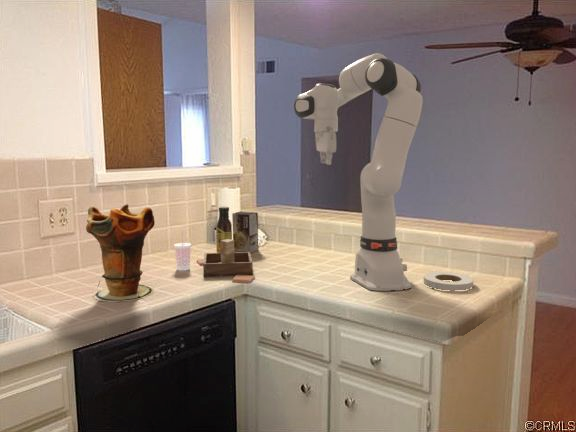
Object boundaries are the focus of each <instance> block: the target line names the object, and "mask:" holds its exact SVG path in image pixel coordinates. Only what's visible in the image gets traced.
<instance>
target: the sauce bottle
mask: <svg viewBox="0 0 576 432" xmlns="http://www.w3.org/2000/svg"><path fill="white" fill-rule="evenodd" d="M229 212H230V207H229V206H219V207H218V213H219V216H218V219H217V223H216V226H215V234H216V236H215V237H216V238H215V239H216V241H215V243H216V245H215V247H216V253H221V241H222V240H226V239H231V240H233V223H232V222H231V219H229V218H230V216H229Z"/></svg>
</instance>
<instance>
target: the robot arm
mask: <svg viewBox="0 0 576 432" xmlns="http://www.w3.org/2000/svg"><path fill="white" fill-rule="evenodd" d="M338 85H339V88H337V87H336V86H335V85H334V84H331V83H321V82H319V83H316V84H315V86H314V87H313V88H312V89H310V90H308V91H307V92H304V93H300V94H299V95H298V96H297V97H296V98H295V100H294V102H293V111H294V113H295V115H296V116H297V117H298V118H300V119H305V120H314V127H313V133H315V135H314V136H315V149H316V152H319V156H320V163H321V164H326V165H327V166H331V165H332V160H333V153H336V152H337V134H336V133H337V132H339V118H338V110H339V109H340V108H342V107H343V106H345V105H346V104H348V103H350V102H352V101H353V100H354V99H356V98H358V97H359V96H360V95H363V94H364V93H367V92H368V91H370V90H372V91H374V92H375V93H377V95H380V96H381V97H384V98H386V99H387V107H386V110H385V112H384V114H383V115H384V116H383V119H382V121H381V123H380V127H379V130H378V133H377V136H376V138H375V143H374V148H373V152H372V157H371V160H370V162H369V163H367V164H366V165H365V166H364V167H363V168H362V170H361V172H360V177H359V178H360V198H361V199H360V200H361V213H362V214H361V215H362V216H361V236H360V240H359V246H360V249H359V250H358V252H357V253H356V254H355V261H354V262H355V263H354V264H355V265H354V273H353V274H350V275H349V279H350V280H352V281H353V280H354V282H355V283H357V284H359V285H360V286H362V287H364V288H366V289H367V290H369V291H379V292H382V291H383V292H387V291H388V292H389V291H390V292H391V290H395V291H404V290H403V289H405V290H409V288H410V289H411V288H412V284H411V283H410V281H409V280H408V278H407V276H406V275H405V272H407V271H408V265H407V264H406V263H403V258H402V257H400V254H399V251H398V250H397V249H398V240H397V237H396V227H397V226H396V225H397V224H396V221H397V213H396V206H395V197H394V196H395V194H397V192H398V191H399V190H400V189H401V186H402V180H403V176H404V172H405V167H406V162H407V158H408V153H409V149H410V148H411V145H412V141H413V138H414V135H415V133H416V131H417V127H418V123H419V121H420V117H421V113H422V108H423V103H424V101H423V100H424V98H423V96H422V94H421V90H422V84H421V82H420V80H419V78H418V77H417V76H416V75H415V74H413V73H412V72H411V71H409V70H408V69H407V68H405V67H404V66H403V65H401V64H398V63H396V62H393V61H392V60H391V59H389V58H387V57H386V56H385V55H384V54H382V53H376V52H375V53H373V54H369V55H367V56H364V57H362V58H360V59H357V60H356V61H354V62H353V63H350V64H349V65H348V66H346V67H345V68H344V69H342V70H341V72H340V73H339V77H338Z"/></svg>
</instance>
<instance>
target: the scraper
mask: <svg viewBox="0 0 576 432" xmlns="http://www.w3.org/2000/svg"><path fill="white" fill-rule="evenodd" d="M234 252H235V251H234V240H233V239H232V240H231V239H226V240H222V241H221V262H219V263H234V262H235V258H234Z"/></svg>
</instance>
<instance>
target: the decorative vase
mask: <svg viewBox="0 0 576 432" xmlns="http://www.w3.org/2000/svg"><path fill="white" fill-rule="evenodd" d="M153 213H154V212H153V210H152V208H150V207H148V206H145V207H144V208H143V209H142V210H141V212H140V213H139V212H138V213H136V212H135V213H133V212H131V211H130V210H129V204H128V203H127V204H124V205H123V206H121V208H120V209H117V208H111V209H110V212H109V214H103V213H101V211H100V210H99V209H98V208H97V207H95V206H90V207H89V208H88V209H87V214H88V218H87V219H86V221H87V224H86V227H85V230H86V232H87V233H88V234H91V235H92V236H93V237H94V238H95V240H96V241H97V243H99V247H100V250H101V260H102V261H101V262H102V269H103V272H104V273H103V274H102V275H101V278H104V280H105V284H106V287H103V288H100V289H98V290H96V291H95V292H94V293H93V298H94V300H98V301H99V302H108V303H110V302H111V303H117V302H130V301H134V300H139V299H146V298H147V297H148V296H151V295H152V294H154V292H155V288H153V287H149V286H147V285H144V284H140V281H141V279H142V278H141V276H142V275H143V273H144V272H143V270H141V266H142V265H141V264H142V259H143V257H142V256H143V248H144V246H145V238H146V237H147V235H148V233H149V232H150V231H151V230H152V229H153V228H154V227H155V215H154V214H153ZM100 282H101V281H99V282H98V286H97V287H99V285H100Z"/></svg>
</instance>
